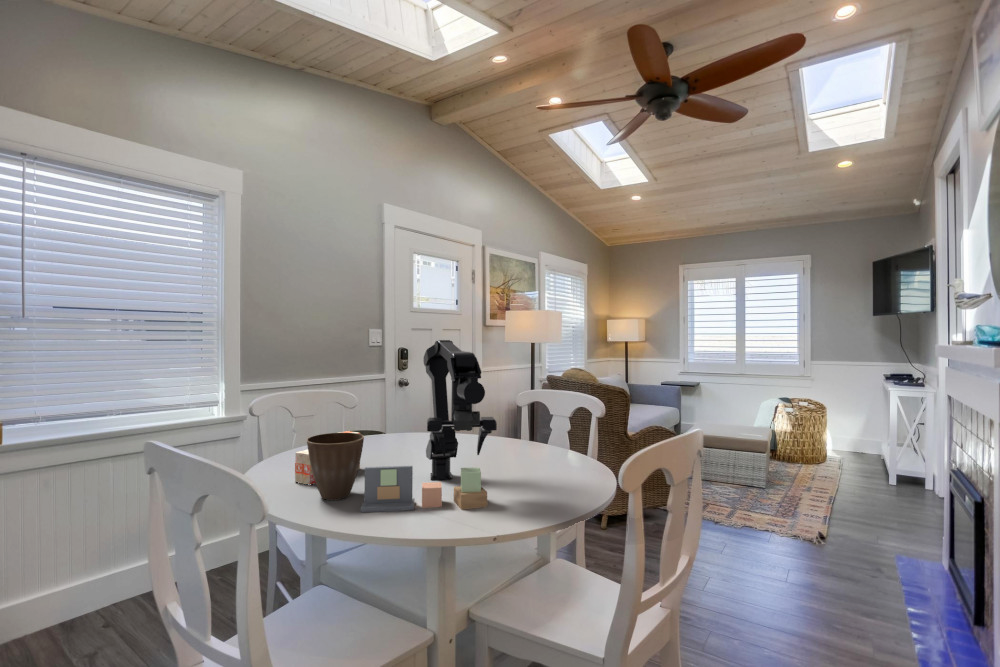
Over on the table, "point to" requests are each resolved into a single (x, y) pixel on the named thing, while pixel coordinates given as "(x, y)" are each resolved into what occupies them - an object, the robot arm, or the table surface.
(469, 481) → the sage block
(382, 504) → the card
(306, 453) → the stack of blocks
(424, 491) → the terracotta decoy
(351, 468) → the plant pot
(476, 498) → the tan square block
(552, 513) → the table surface
